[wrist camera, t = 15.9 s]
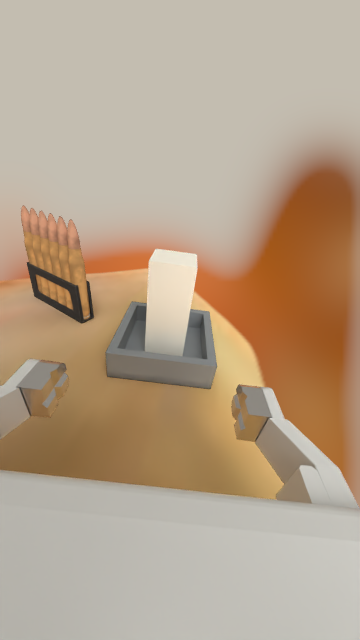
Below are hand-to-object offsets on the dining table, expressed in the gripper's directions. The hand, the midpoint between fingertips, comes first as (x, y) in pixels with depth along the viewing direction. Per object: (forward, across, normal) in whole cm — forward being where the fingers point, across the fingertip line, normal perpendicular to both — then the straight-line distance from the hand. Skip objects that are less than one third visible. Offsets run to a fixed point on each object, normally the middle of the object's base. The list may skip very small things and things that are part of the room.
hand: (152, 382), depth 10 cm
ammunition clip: (+19, +15, +9) cm, 26 cm away
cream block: (+12, 0, +8) cm, 14 cm away
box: (+12, 0, +8) cm, 15 cm away
